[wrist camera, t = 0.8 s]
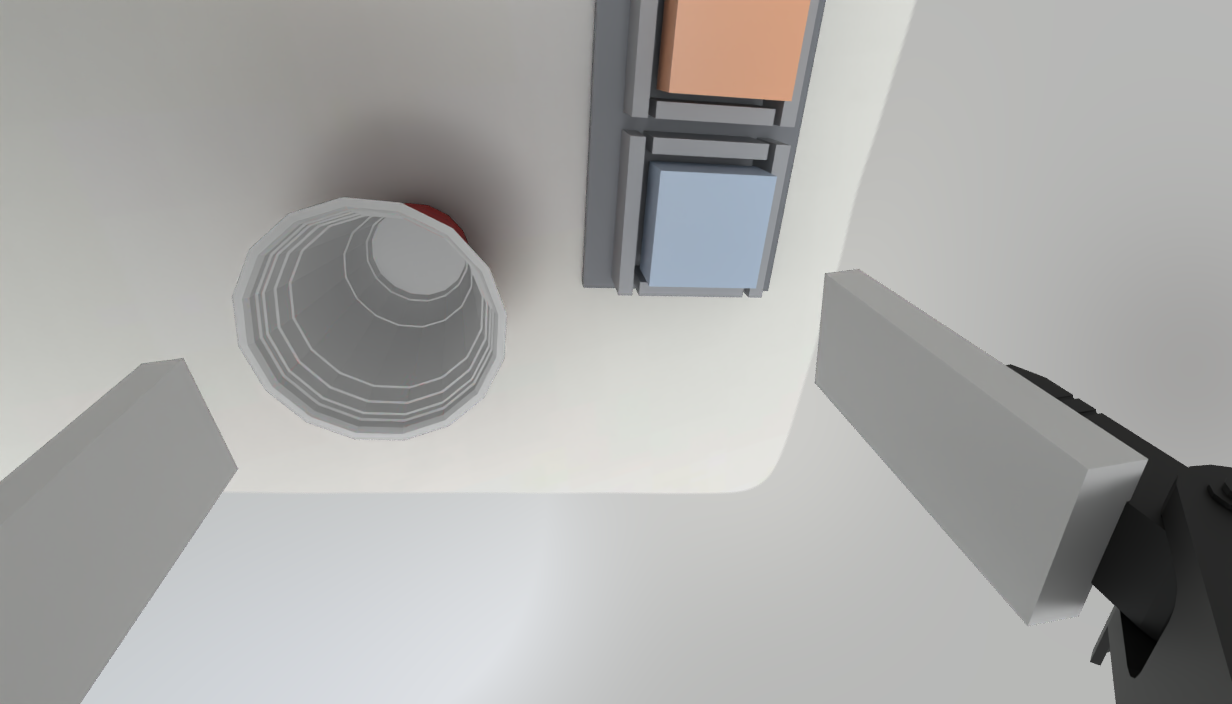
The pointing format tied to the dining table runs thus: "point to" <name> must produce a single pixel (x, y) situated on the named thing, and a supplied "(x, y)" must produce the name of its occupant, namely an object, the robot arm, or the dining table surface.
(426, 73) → the dining table surface
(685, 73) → the button terracotta
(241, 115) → the dining table surface
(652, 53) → the console
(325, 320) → the plastic cup
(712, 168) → the button slate
